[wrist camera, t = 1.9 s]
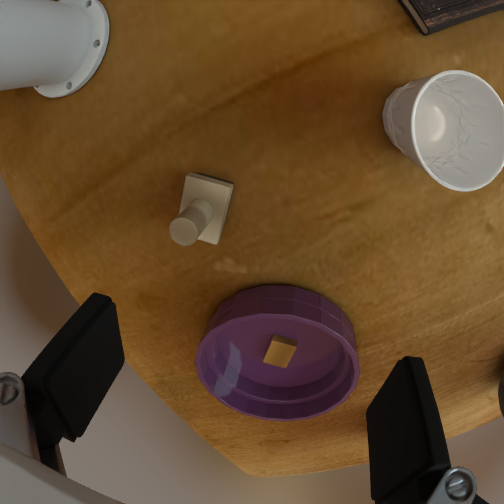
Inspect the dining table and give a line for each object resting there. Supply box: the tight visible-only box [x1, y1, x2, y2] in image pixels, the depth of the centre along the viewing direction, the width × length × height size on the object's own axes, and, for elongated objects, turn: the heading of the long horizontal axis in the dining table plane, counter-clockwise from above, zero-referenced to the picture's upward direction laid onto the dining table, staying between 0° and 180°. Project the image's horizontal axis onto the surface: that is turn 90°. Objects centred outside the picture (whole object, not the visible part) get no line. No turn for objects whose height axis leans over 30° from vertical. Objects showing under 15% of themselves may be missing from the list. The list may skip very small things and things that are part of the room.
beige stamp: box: [169, 173, 234, 246], centre depth 27 cm, size 6×4×8 cm
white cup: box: [382, 70, 504, 191], centre depth 19 cm, size 8×8×10 cm
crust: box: [263, 334, 297, 368], centre depth 36 cm, size 3×4×1 cm
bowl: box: [195, 285, 360, 422], centre depth 35 cm, size 18×18×6 cm
